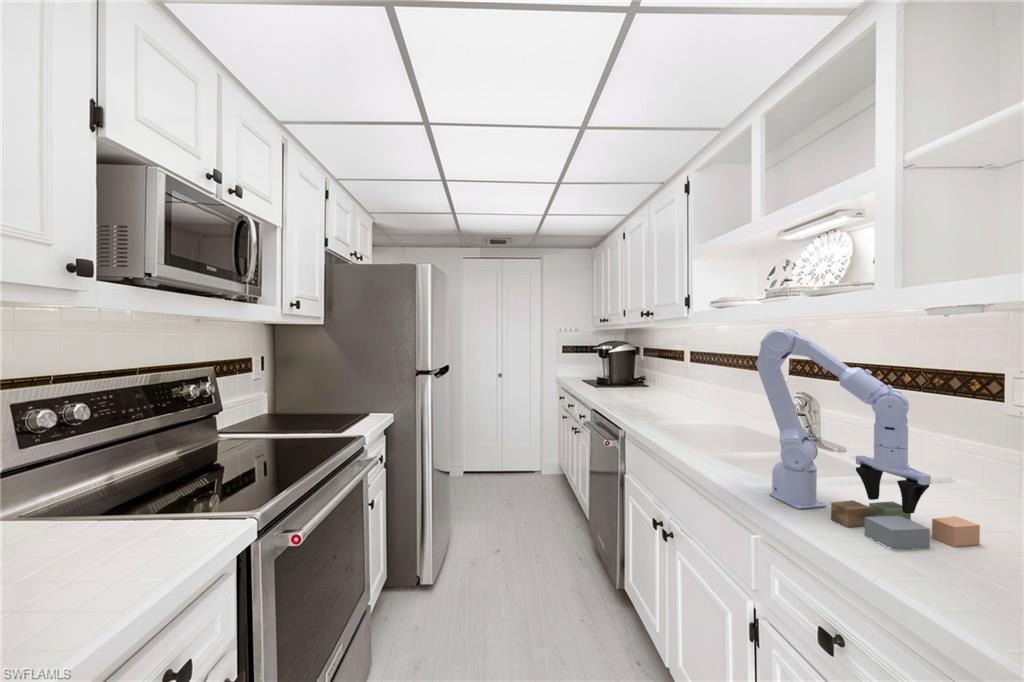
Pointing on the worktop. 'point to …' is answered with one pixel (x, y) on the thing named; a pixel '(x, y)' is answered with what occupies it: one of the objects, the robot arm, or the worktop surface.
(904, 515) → the sage brick
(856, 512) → the walnut brick
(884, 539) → the slate brick
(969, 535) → the terracotta brick
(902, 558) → the worktop surface
